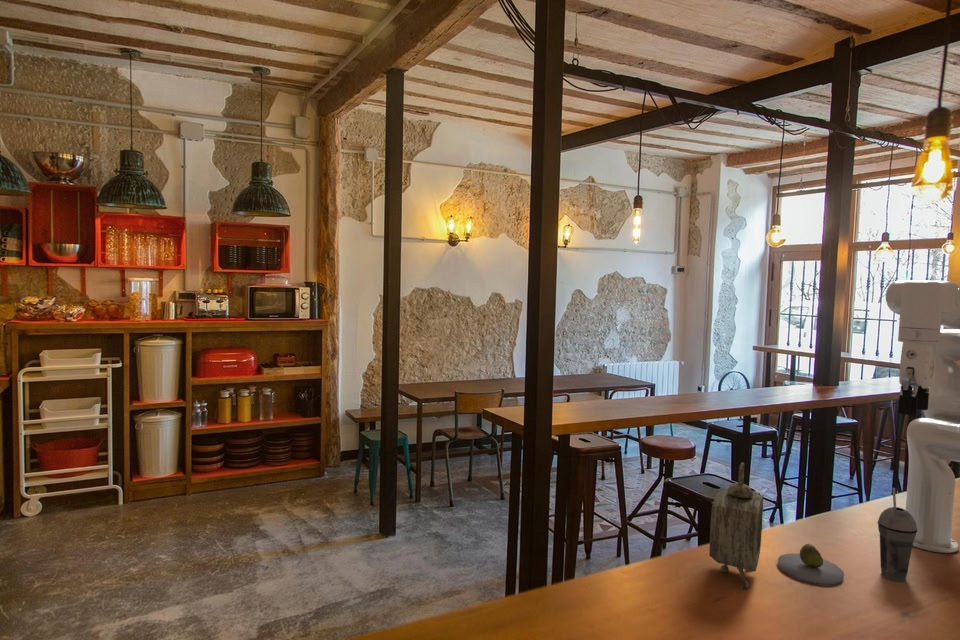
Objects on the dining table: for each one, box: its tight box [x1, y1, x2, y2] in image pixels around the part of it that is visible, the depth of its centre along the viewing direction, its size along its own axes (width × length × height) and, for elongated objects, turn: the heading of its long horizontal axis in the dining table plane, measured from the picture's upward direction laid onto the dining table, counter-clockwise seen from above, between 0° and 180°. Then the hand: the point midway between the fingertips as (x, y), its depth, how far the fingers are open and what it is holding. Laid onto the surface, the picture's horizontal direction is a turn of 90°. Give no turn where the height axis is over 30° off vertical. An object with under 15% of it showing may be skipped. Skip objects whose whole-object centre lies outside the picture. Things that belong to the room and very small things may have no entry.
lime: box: [799, 543, 824, 568], centre depth 134 cm, size 4×5×5 cm
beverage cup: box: [877, 487, 917, 583], centre depth 132 cm, size 7×7×20 cm
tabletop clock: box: [708, 462, 764, 589], centre depth 131 cm, size 14×9×25 cm, turn 150°
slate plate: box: [777, 553, 845, 586], centre depth 135 cm, size 13×13×1 cm
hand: (913, 411), depth 135 cm, fingers open, 9 cm apart
